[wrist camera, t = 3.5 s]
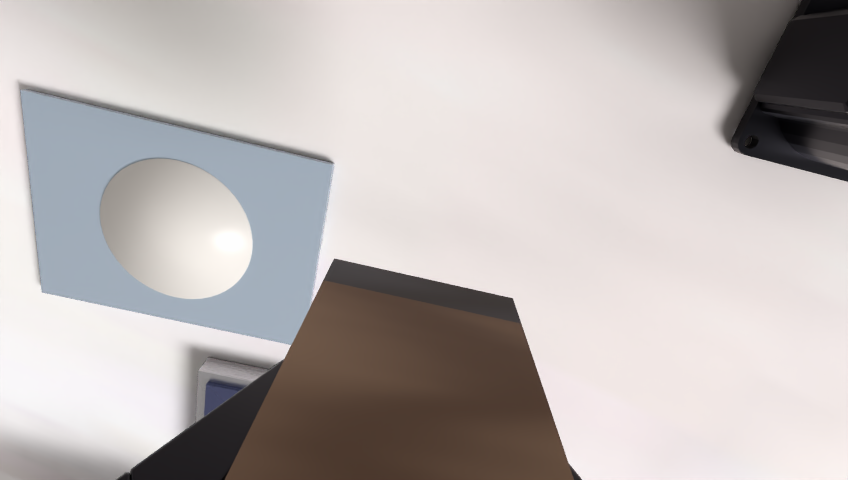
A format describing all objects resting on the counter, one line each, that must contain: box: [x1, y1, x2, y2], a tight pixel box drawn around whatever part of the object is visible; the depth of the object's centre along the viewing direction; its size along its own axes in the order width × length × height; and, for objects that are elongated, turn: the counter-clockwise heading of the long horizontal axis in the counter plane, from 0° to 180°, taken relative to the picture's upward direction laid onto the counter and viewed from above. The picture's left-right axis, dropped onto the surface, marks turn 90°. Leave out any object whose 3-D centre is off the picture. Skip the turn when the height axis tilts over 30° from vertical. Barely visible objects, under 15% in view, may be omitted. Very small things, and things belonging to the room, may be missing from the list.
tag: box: [20, 89, 334, 345], centre depth 19 cm, size 12×9×1 cm
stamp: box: [225, 259, 574, 480], centre depth 8 cm, size 4×4×6 cm
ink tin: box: [195, 357, 268, 423], centre depth 23 cm, size 9×7×1 cm
